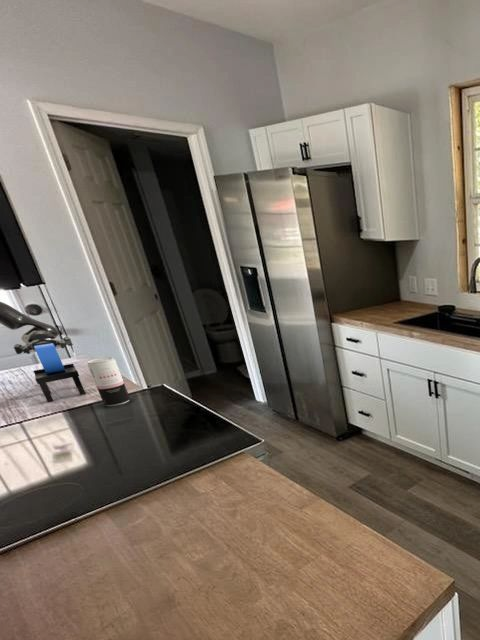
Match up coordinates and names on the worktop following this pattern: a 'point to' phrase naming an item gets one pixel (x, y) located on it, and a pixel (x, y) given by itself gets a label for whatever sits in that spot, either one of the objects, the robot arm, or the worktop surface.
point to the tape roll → (49, 358)
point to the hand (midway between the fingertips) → (45, 348)
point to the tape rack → (68, 373)
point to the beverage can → (108, 381)
